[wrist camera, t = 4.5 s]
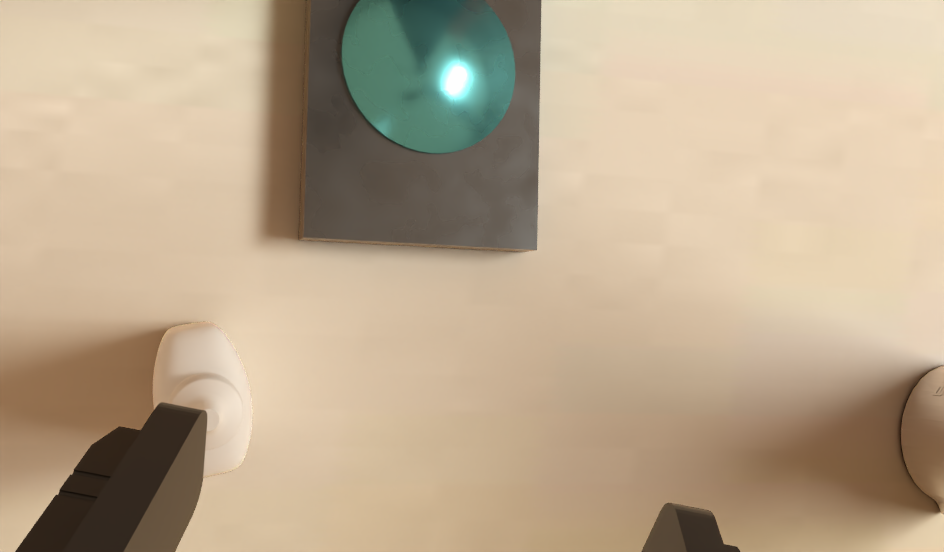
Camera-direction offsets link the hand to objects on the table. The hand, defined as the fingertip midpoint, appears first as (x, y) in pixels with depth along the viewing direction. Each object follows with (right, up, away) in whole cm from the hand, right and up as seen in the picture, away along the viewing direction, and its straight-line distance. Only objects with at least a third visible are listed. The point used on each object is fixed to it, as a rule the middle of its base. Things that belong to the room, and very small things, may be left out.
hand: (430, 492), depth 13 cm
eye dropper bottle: (-12, -1, +22) cm, 25 cm away
